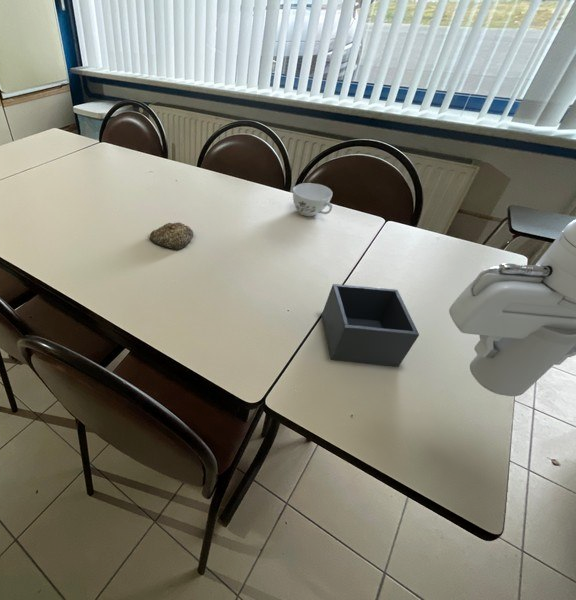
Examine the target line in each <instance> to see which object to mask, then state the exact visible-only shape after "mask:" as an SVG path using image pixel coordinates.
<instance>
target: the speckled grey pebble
mask: <svg viewBox="0 0 576 600" xmlns="http://www.w3.org/2000/svg"><path fill="white" fill-rule="evenodd" d="M193 236H194V230H193V229H192V228H191V227H190V226H188V225H185V224H184V223H182V222H179V221H178V222H173V223H171V222H168V223H165V224H163V225H162V226H160V227H159V228H157V229H153V230H152V231H151V232H150V234H149V239H150V240H151V241H152V242H154V243H155V244H157V245H159V246H161V247H164V248H169V249H173V250H180V249H183V248H184V247H186V246H187V245H189V244H190V243H191V241H192V239H193Z"/></svg>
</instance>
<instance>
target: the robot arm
mask: <svg viewBox="0 0 576 600" xmlns="http://www.w3.org/2000/svg"><path fill="white" fill-rule="evenodd" d="M448 312H449V313H448V314H449V316H450V318H451V320H452V322H453V324H454V325H455V326H456V328H457V329H458V331H460V333H462V334H466V335H474V336H475V335H476V336H479V340H478V342H476V344H475V345H474V351H475V353H476V355H478V356H479V357H485V358H494V357H495V355H496V354H497V353H498V352H499V351H500V350H499V349H498V348H497V346H496V345H495V343H494V340H495V341H499V340H500V339H501V338H502V337H506V338H517V339H524V338H525V337H527V336H528V335H529V334H530V333H532V332H534V331H537V330H539V329H540V327H541V326H543V327H549V328H558V329H570V330H573V329H576V218H575V219H573V220H572V221H570V222H569V223H568V224H567V225H566V226H565V227H564V228H563V229H562V231H561V232H560V233H559V234H558V236H556V238H555V240H554V241H553V242H552V243H551V245H550V246H549V247H548V249H546V251H545V252H544V253H543V254H542V256H541V257H540V258H539V260H538V261H537V262H536V263H535V264H527V265H526V264H515V263H508V262H507V263H500V264H499V265H498V266H493V267H490V268H488V269H484V270H482V271H480V272H479V273H478V274H477V276H476V278H475V279H474V280H472V281H471V282H470V284H468V285H467V286H466V287H465V288H464V290H463V291H462V292H461V293H460V294H459V295H458V296H457V298H456V299H455V300H454V301H453V303H452V304H451V305H450V307H449V309H448ZM575 356H576V345H575V346H574V347H573V348H572V349H570V350H569V351H568V352H567V353H566V354H565V355H564V356H563V357H562V358H561V359H560V360H559V361H558V362H557V363H555V364H554V365H553V366H560V365H561V364H563V363H564V362H565V361H566V360H567V359H568V358H572V357H575Z"/></svg>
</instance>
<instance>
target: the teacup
mask: <svg viewBox="0 0 576 600" xmlns="http://www.w3.org/2000/svg"><path fill="white" fill-rule="evenodd" d="M332 197H333V190H332V189H331V188H330V187H328V186H326V185H323V184H321V183H315V182H313V183H312V182H302V183H299V184H297V185H295V186H293V189H292V200H293V204H294V205H293V206H294V207H295V209H296V210H297V211H298V213H299V214H300V215H302V216H306V217H313V216H316V215H317V214H320V215H328V214H330V213H331V212H332V210H333V204H332V203H331V202H330V201H331V200H332ZM327 206H328V209H329V210H327V211H323V210H324V209H326V208H327Z"/></svg>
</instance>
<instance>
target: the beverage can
mask: <svg viewBox="0 0 576 600" xmlns="http://www.w3.org/2000/svg"><path fill="white" fill-rule="evenodd" d="M494 343H495V345H496V346H497V348H498V349H499V350H500V351H499V352H498V353H497V354H496V355H495V357H494V358H485V357H479V356H478V355H477V354H476V355H475V356H474V358H473V359H472V360H471V362H470V363H469V371H470V373H471V375H472V377H473V378H474V379H475V380H476V382H477V383H478V384H479V385H480V386H482V387H483V389H486V390H487V391H489V392H491V393H493V394H495V395H499V396H505V397H519V396H522V395H524V394H525V393H526V392H527V391H528V390H529V389H530V388H531V387H532V386H533V385H534V384H535V383H537V382H538V381H539V380H540V379H541V378H542V377H543V376H544V375H545V374H546V373H547V372H548V371H549V370H550V369H552V367H553V366H555V365H554V364H555V363H557V362H558V361H559V360H560V359H561V358H562V357H563V356H564V355H565V354H566V353H567V352H568V351H569V350H570V349H572V348H573V347H574V346H575V345H576V329H573V330H570V329H558V328H549V327H543V326H541V327H540V329H539V330H537V331H534V332H532V333H530V334H529V335H528V336H527V337H525V338H524V339H517V338H506V337H502V338H501V339H500V340H499V341H495V340H494Z"/></svg>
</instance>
